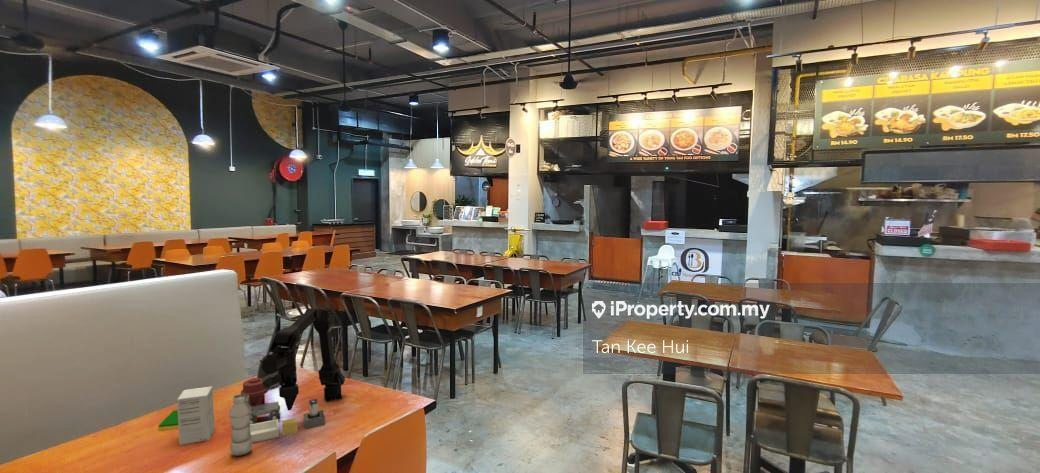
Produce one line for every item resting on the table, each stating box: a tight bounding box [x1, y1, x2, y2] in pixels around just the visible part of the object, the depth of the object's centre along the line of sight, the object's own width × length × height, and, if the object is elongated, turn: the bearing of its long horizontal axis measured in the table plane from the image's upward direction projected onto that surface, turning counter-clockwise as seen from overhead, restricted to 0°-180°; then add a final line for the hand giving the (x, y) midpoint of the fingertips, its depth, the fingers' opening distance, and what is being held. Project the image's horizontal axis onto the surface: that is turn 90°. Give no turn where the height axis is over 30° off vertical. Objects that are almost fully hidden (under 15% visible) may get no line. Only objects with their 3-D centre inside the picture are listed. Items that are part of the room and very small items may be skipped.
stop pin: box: [308, 398, 319, 419], centre depth 181 cm, size 3×3×9 cm
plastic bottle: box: [228, 393, 254, 457], centre depth 159 cm, size 6×7×20 cm
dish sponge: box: [157, 409, 179, 432], centre depth 184 cm, size 7×14×2 cm, turn 17°
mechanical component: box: [240, 377, 269, 407], centre depth 195 cm, size 12×10×10 cm
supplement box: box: [176, 385, 215, 446], centre depth 171 cm, size 10×9×17 cm
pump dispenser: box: [256, 354, 279, 389], centre depth 219 cm, size 10×10×15 cm
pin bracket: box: [302, 409, 326, 430], centre depth 182 cm, size 7×7×3 cm
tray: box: [250, 419, 280, 444], centre depth 172 cm, size 12×10×3 cm
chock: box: [281, 417, 298, 436], centre depth 175 cm, size 5×4×4 cm
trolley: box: [246, 395, 281, 424], centre depth 184 cm, size 12×10×10 cm
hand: (289, 405), depth 175 cm, fingers open, 9 cm apart
